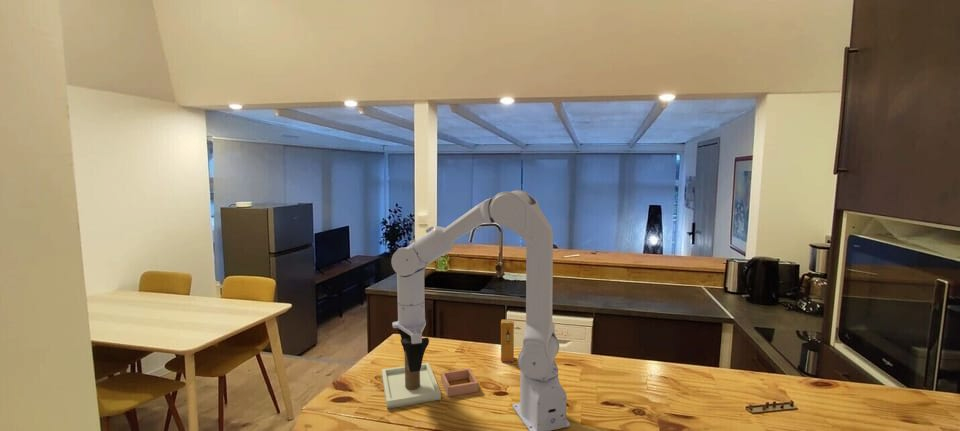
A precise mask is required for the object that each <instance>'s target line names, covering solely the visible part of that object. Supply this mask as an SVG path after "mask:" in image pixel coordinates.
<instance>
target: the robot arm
mask: <svg viewBox="0 0 960 431" xmlns="http://www.w3.org/2000/svg"><path fill="white" fill-rule="evenodd" d="M494 223H496V224H497V225H499V226H501V227H503V228H506V229H508V230H511V231H513V232H514V233H515V234H516V235H518V236H519V238H521V239H522V240H524V242H525V243H526V246H525V247H526V252H525V253H526V254H525V256H526V257H525V258H526V259H525V261H526V263H525V264H526V267H525V268H526V269H525V274H526V276H525V277H526V278H525V280H526V281H525V286H526V287H525V288H526V289H525V290H526V291H525V293H526V294H525V328H524V334H523V338H522V348H521V349H520V352H519V353H518V356H517V365H518V368H519V369H520V375H519V376H520V379H519V380H520V382H519V386H520V390H519V402H516V403H513V404H512V405H511V406H512V409H513V410H514V411H515V412H516V415H517V416H518V417H519V418H520V420H521V421H522V422H523V424H524V426H525V427H526V429H527V430H528V431H555V430H559V429H564V428H570V426H571V423H570V421H569V420H568V419H567V401H568V400H567V399H568V398H567V393H566V390H565V389H564V388H563V386H562V384H561V383H560V378H559V367H558V365H557V363H556V361H555V358H556V356H557V354H559V350H560V342H559V339H558V338H557V336H556V330H555V327H556V326H555V323H554V322H553V294H554V293H553V290H554V289H553V287H554V286H553V284H554V282H553V280H554V278H553V277H554V271H553V266H554V231H553V228H552V226H551V224H550V223H549V221H548V219H547V217H546V216H545V214H544V213H543V211H542V209H541V208H540V205H539V202H538V200H537V199H536V198H535V197H533V196H532V195H531V194H529V193H528V192H526V191H524V190H521V189H514V190H512V191H502V192H499V193H497V194H496V195H494V197H490V198H488V199H485V200H484V201H481V202H480V203H478V204H477V205H475V206H474V207H473V208H470V209H469V210H468V211H467V212H465V213H464V214H462V215H461V216H460V217H458V218H457V219H456V220H454V221H453V222H451V223H450V224H449V225H447V226H446V227H443V226H439V225H438V226H437V225H436V226H435V227H434V226H429V227H427V228H426V229H425V232H426V233H425V234H424V233H423V235H421V236H420V237H418V238H417V239H411V240H410V241H409V245H408V246H406V247H399V248H397V249H396V251H394V253H393V254H392V256H391V262H390V263H391V267H392V269H393V271H394V272H395V273H396V284H397V285H396V288H397V289H396V290H397V321H393V322H391V323H392V328H393V329H397V332H398V333H399V335H400V344H401V346H402V349H403V354H405V352H406V355H407V361H408V366H409V370H410V372H415V371H420V369H421V365H422V363H423V361H424V360H423V359H424V355H425V351H426V349H427V347H428V346H429V344H430V339H429V337H423V331H424V329H425V327H426V325H427V320H426V310H425V308H426V306H425V304H426V303H425V302H426V301H425V299H426V298H425V269H426V268H427V267H428V265H430V264H432V263H433V262H434V261H436V260H438V259H439V258H441V257H442V256H444V255H445V254H447V253H449V252H451V251H453V250H452V249H453V247H454V243H455V241H456V240H458V239H459V238H461V237H463V236H465V235H466V234H468V233H470V232H471V231H473V230H475V229H476V228H478V227H480V226H482V225H483V224H487V225H488V224H489V225H492V224H494ZM404 349H405V351H404Z"/></svg>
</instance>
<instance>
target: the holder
mask: <svg viewBox="0 0 960 431" xmlns="http://www.w3.org/2000/svg"><path fill="white" fill-rule="evenodd" d="M465 379H466V380H467V379H468V380H469V381H468V382H464V383H459V384H454V385H453V384H452V385H450V383H449V382H452V381H459V380H465ZM440 382H441V384H442V387H443V389H444V391H445V393H446V396H447V398H449V397H456V396H460V395H466V394H472V393H477V392H479V384H480V383H479V381H478V379H477V378H476V375H474V373H473V372H472V370H471V368H463V369H457V370H450V371H445V372H440Z"/></svg>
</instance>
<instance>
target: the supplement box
mask: <svg viewBox="0 0 960 431" xmlns="http://www.w3.org/2000/svg"><path fill="white" fill-rule="evenodd" d="M514 325H515V321H514V319H501V321H500V361H501V363H502V362H503V363H504V362H507V363H509V362H510V363H514V362H515V358H514V357H515V356H514V353H515V351H514V350H515V348H514V346H515V345H514V344H515V343H514V342H515V341H514V340H515V338H514V336H515V334H514V330H515V329H514V328H515V326H514Z"/></svg>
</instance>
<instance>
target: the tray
mask: <svg viewBox="0 0 960 431" xmlns="http://www.w3.org/2000/svg"><path fill="white" fill-rule="evenodd" d="M381 380H382V384H383V391H384V398H385V404H386V409H387V410H389V409H395V408H400V407H401V408H402V407H405V406H411V405H416V404H418V405H419V404H422V403H429V402H435V401H441V400H442V392H441V388H440V387H439V384H438V383H437V380H436V377H435V375H434V373H433V370H432V368H431V365H430V363H429V362H424V363H423V362H422V365H421V369H420V387H419V388H418V389H416V390H408V389H406V388H405V365H403V366H396V367H390V368H382V369H381Z"/></svg>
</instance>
